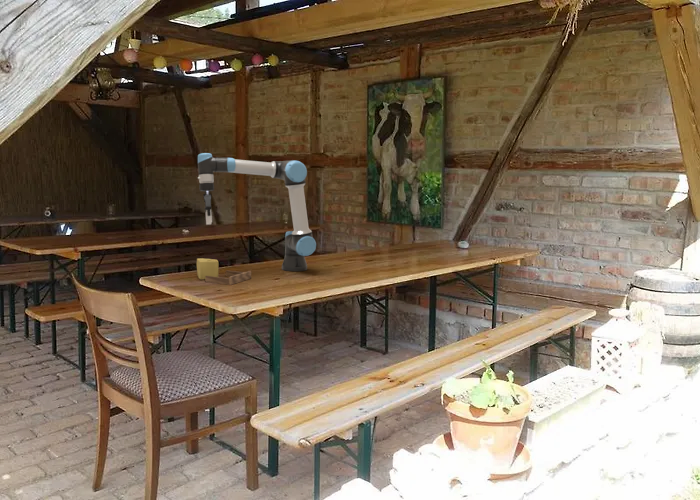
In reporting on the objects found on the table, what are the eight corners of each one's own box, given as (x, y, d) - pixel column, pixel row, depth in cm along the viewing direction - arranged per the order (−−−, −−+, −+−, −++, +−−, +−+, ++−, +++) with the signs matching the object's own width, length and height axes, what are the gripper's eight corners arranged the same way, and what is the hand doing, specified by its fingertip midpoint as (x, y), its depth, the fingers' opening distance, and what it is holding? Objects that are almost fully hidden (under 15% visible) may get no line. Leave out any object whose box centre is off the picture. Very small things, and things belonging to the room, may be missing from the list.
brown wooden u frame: (226, 275, 336) (226, 268, 336) (251, 278, 331) (251, 271, 330) (205, 281, 317) (205, 274, 317) (231, 284, 312) (231, 277, 311)
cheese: (215, 275, 335) (216, 257, 334) (219, 279, 325) (219, 260, 324) (196, 276, 332) (196, 258, 330) (199, 280, 322) (199, 261, 320)
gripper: (199, 186, 331) (201, 225, 331) (199, 180, 307) (201, 222, 307) (213, 186, 333) (215, 224, 333) (214, 179, 309) (217, 221, 309)
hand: (209, 223), depth 320 cm, fingers open, 13 cm apart
